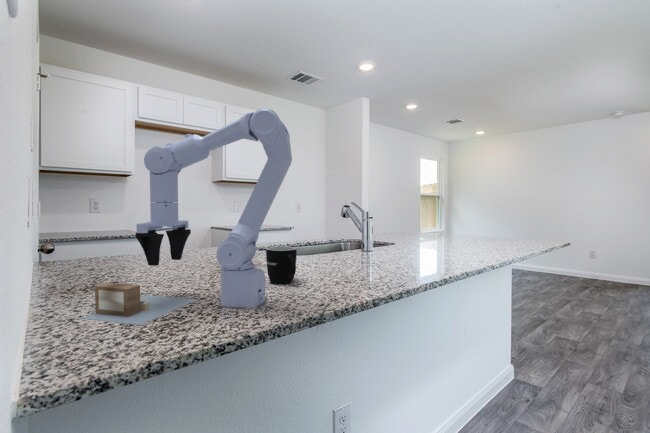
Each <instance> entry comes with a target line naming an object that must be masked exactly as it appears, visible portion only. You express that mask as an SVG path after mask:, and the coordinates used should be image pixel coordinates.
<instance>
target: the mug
mask: <svg viewBox="0 0 650 433" xmlns="http://www.w3.org/2000/svg"><path fill="white" fill-rule="evenodd" d="M297 255H298V254H297V247H294V246H271V247H267V248H266V249H265V256H266V258H265V260H266V268H267V269H266V270H267V276H268V279H269V282H270V283H271V284H273V285H279V284H282V285H288V283H289V284H291V283H292V282H293V281H294V278H295V275H296V272H297Z"/></svg>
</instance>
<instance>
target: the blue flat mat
mask: <svg viewBox="0 0 650 433" xmlns="http://www.w3.org/2000/svg"><path fill="white" fill-rule="evenodd" d="M197 300H198V299H195V298H186V297H185V298H183V297H172V296H160V295H148V294H146V295H143V296H140V312H139V313H137V314H134V315H132V316H129V317H125V316H116V315H106V314H97V313H96V312H93V313H91V314H88V315H85V316H83V317H80V318H79V319H82V320H92V321H101V322H109V323H119V324H127V325H137V326H142V325H144V324H146V323H149V322H151V321H154V320H156V319H158V318H160V317H163V316H164V315H167V314H169V313H171V312H173V311H176V310H178V309H180V308H182V307H184V306H186V305H189V304H191V303H194V302H196V301H197Z"/></svg>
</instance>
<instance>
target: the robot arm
mask: <svg viewBox="0 0 650 433" xmlns="http://www.w3.org/2000/svg"><path fill="white" fill-rule="evenodd" d="M290 138H291V134H290V133H289V131H288V128H287V127H286V125H285V123H284V122H283V121H282V120H281V119H280V117H279V115H278V114H277V113H276V112H275V111H274V110H273V109H271V108H267V107H262V108H259V109H257V110H256V111H254V112H253V111H251V112H247V113H246V114H244V115H243V116H241V117H240V118H239V119H236V120H234V121H232V122H230V123H228V124H226V125H224V126H222V127H220V128H218V129H216V130H214V131H212V132H210V133H207V134H206V135H203V136H202V135H198V134H195V133H194V134H191V133H187V134H185V135H184V138H183V139H181V140H178V141H175V142H173V143H170V142H169V143H166V144H165V147H162V146H158V145H157V146H156V145H155V146H153V147H151V148H149V149H148V150H147V151H146V152H145V154H144V157H143V163H144V166H145V168H146V169H147V170H148V171H149V202H150V204H149V205H150V208H149V211H150V212H149V213H150V221H147V222H141V223H136V232H135V238H136V239H137V241H138V243H139V244H140V246H141V249H143V253H144V255H145V259H146V261H147V266H153V267H156V266H157V267H158V266H159V264H160V257H161V256H160V255H161V254H160V253H161V245H162V242H163V239H164V236H165V234H164V233H158V232H163V231H165V233H166V236H167V238H168V242H169V249H170V250H169V251H170V257H171V260H176V261H180V260H182V257H183V253H184V248H185V246H186V242H187V241H188V238H189V237H190V235H191V233H192V230H191V229H189V220H185V219H184V220H179V187H178V186H179V182H178V181H179V174H180V173H181V171H182V169H184V168H187V167H189V166H192V165H195V164H197V163H200V162H201V161H204V160H206V159H208V158H209V155H210V154H211V151H213V150H216V149H218V148H222V147H223V146H224V147H225V146H227V145H230V144H232V143H235V142H237V141H241V140H248V141H253V142H260V143H261V144H262V145H261V146H262V148H263V150H264V152H265V154H266V157H267V160H266V162H265V164H264V167H263V169H262V170H261V172H260V175H259V177H258V179H257V182H256V184H255V186H254V188H253V190H252V192H251V194H250V197H249V198H248V200H247V202H246V205H245V206H244V209H243V211H242V213H241V216H240V218H239V219H238V222H237V224H236V225H235V226H234V227H233V228H232V229H231V231H230V232H229V234H228V236H227V238H226V239H225V240H224V241H222V242H221V243H220V244H219V245H218V247H217V249H216V255H215V256H216V259H217V262H218V264H220V305H221V306H223V307H226V308H246V309H255V308H256V307H258V306H260V305H261V304H262V303H264V302H266V274H265V272H264V270H263V269H260V268H256V267H255V266H254V264H255V263H254V262H253V261H252V259H253V258H254V257H255V255H256V251H257V250H256V249H257V247H256V246H257V242H258V239H259V234H260V233H259V232H260V229H261V227H262V225H263V223H264V222H265V219H266V217H267V216H268V213H269V210H270V208H271V207H272V204H273V202H274V200H275V198H276V195H277V194H278V192H279V190H280V188H281V185H282V183H283V181H284V179H285V177H286V176H287V173H288V171H289V169H290V167H291V164H292V162H293V156H292V147H291V146H292V145H291V139H290Z"/></svg>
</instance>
